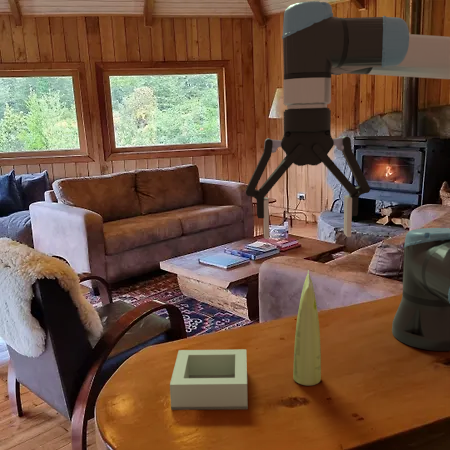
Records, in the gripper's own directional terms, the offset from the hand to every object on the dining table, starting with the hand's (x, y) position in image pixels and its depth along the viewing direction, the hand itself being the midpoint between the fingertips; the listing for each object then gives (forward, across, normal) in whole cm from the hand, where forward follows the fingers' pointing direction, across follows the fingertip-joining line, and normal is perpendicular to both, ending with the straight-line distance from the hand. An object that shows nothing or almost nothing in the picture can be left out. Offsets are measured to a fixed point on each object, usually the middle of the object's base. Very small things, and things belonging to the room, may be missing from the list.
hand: (306, 236), depth 88 cm
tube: (+27, 0, 0) cm, 27 cm away
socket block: (+26, +17, +3) cm, 31 cm away
